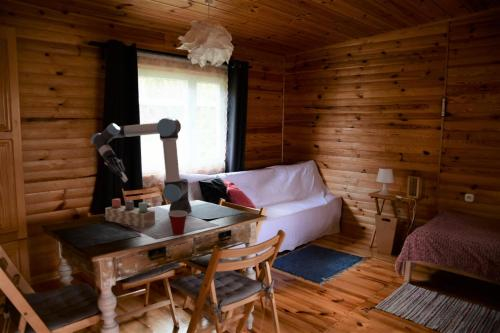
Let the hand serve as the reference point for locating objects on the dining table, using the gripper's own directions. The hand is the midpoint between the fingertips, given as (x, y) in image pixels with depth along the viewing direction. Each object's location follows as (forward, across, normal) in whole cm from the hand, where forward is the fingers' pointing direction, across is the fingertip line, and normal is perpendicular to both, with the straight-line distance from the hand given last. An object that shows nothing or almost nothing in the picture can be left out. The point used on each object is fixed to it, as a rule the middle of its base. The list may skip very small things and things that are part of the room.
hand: (125, 180), depth 236 cm
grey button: (+17, +4, -7) cm, 18 cm away
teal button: (+25, +4, +1) cm, 25 cm away
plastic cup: (+53, +8, +18) cm, 56 cm away
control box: (+23, +4, -13) cm, 26 cm away
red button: (+8, +4, -16) cm, 18 cm away
